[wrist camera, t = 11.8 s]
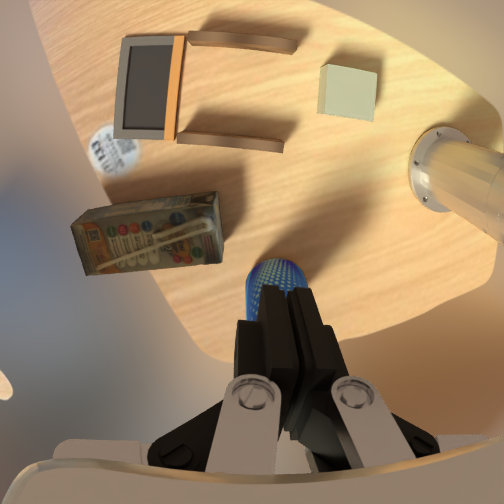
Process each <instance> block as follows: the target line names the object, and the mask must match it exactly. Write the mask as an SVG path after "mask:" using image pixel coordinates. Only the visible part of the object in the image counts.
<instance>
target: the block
mask: <svg viewBox="0 0 504 504" xmlns="http://www.w3.org/2000/svg"><path fill="white" fill-rule="evenodd" d="M376 85H377V73H374V72H369V71H364V70H359V69H354V68H349V67H344V66H338V65H332V64H327V65H325V66H323V67H321V68H320V79H319V93H318V105H317V114H325V115H333V116H340V117H347V118H353V119H359V120H366V121H372V122H373V119H374V109H375V98H376Z"/></svg>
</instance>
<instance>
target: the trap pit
mask: <svg viewBox="0 0 504 504" xmlns="http://www.w3.org/2000/svg"><path fill="white" fill-rule="evenodd" d="M184 42H185V36H143V37H126V38H122V43H121V51H120V59H119V67H118V77H117V87H116V99H115V114H114V133H113V139H151V140H174V139H175V126H176V114H177V103H178V93H179V83H180V74H181V66H182V57H183V50H184Z"/></svg>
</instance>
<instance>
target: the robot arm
mask: <svg viewBox="0 0 504 504" xmlns="http://www.w3.org/2000/svg"><path fill="white" fill-rule="evenodd" d="M414 162H415V163H414ZM408 176H409V182H410V186H411V189H412V191H413V194H414V195H415V197H416V198H417V200H418V201H419V202H420V203H421V204H422V205H424V206H425V207H427V208H428V209H430V210H432V211H435V212H440V213H441V212H449V211H453V212H454V213H456V214H458V215H459V216H461V217H462V218H464V219H465V220H467V221H468V222H470V223H471V224H473V225H474V226H476V227H477V228H479V229H480V230H482V231H483V232H485V233H486V234H488V235H489V236H490V237H492V238H493V239H495V240H496V241H498V242H499V243H500V244H502V245H503V246H504V153H500V152H497V151H494V150H491V149H488V148H484V147H481V146H478V145H474V144H472V143H471V141H470V140H469V139H468V137H467V136H466V135H465V134H464V133H462V132H461V131H459V130H457V129H455V128H451V127H445V126H441V127H435V128H433V129H430V130H429V131H427V132H426V133H424V134H423V135H422V136H421V137H420V138H419V139H418V141H417V142H416V144H415V146H414V148H413V150H412V152H411V155H410V159H409V166H408ZM423 197H424V198H423ZM282 428H284V431H289V432H290V440H298V441H299V442H300V443H301V444H303V445H304V446H305V455H306V458H307V461H308V464H309V467H310V470H311V473H307V474H283V475H274V471H275V461H276V451H277V442H278V440H279V437H280V434H281V431H282ZM2 504H504V436H500V437H495V438H491V439H489V438H488V437H486V436H484V435H480V434H478V435H477V434H475V435H437V436H436V437H435V438H434V437H433V436H432V435H430V434H429V433H427V432H426V431H424V430H422V429H420V428H418V427H416V426H415V425H413V424H411V423H409V422H407V421H405V420H403V419H402V418H400V417H398V416H396V415H395V414H393V413H391V412H390V411H389V409H388V408H387V406H386V404H385V402H384V401H383V399H382V397H381V396H380V394H379V392H378V390H377V389H376V388H375V386H374V385H373V384H372V383H370V382H369V381H367V380H365V379H363V378H361V377H356V376H349V374H348V371H347V368H346V365H345V363H344V359H343V357H342V353H341V351H340V348H339V345H338V342H337V339H336V336H335V334H334V331H333V328H332V327H331V326H330V325H323V323H322V320H321V317H320V314H319V311H318V308H317V305H316V302H315V299H314V296H313V293H312V290H311V288H305V287H294V289H293V291H290V290H289V291H288V292H287V297H286V296H285V291H284V290H279V286H278V285H267V284H262V287H261V293H260V300H259V306H258V313H257V320H256V321H249V320H238V322H237V330H236V339H235V352H234V379H233V380H232V381H231V382H230V383H229V384H228V386H227V388H226V392H225V396H224V399H223V400H222V401H220V402H219V403H217V404H215V405H214V406H213V407H211V408H209V409H207V410H206V411H204V412H203V413H201V414H199V415H198V416H196V417H195V418H193V419H191V420H189V421H188V422H186V423H184V424H183V425H181V426H179V427H178V428H176V429H174V430H172V431H171V432H169V433H167V434H165V435H164V436H162V437H160V438H158V439H157V440H156V441H155V442H153V443H145V444H140V442H139V441H111V440H84V439H70V440H66V441H64V442H62V443H60V444H59V445H58V446H57V447H56V448H55V451H54V454H53V459H51V460H46V461H41V462H37V463H35V464H31V465H29V466H28V467H26V468H25V469H24V470H22V471H21V472H20V473H19V474H18V475H17V477H16V478H15V479H14V481H13V482H12V484H11V486H10V487H9V489H8V491H7V493H6V495H5V497H4V499H3V501H2Z"/></svg>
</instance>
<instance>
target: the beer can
mask: <svg viewBox="0 0 504 504" xmlns="http://www.w3.org/2000/svg"><path fill="white" fill-rule="evenodd" d="M262 284H267V285H278V286H279V290H284V291H285V296H286V297H287V292H288V291H289V290H290V291H293V289H294V287H305V288H308V285H307V282H306V279H305V276H304V273H303V272H302V270H301V269H300V267H298V266H297V265H296V264H295V263H293V262H291V261H289V260H286V259H280V258H274V259H268V260H265V261H263V262H261V263H259V264H257V265H256V266H255V267H254V268H253V269H252V270H251V271H250V273H249V274H248V277H247V279H246V320H249V321H256V320H257V313H258V306H259V300H260V293H261V287H262Z"/></svg>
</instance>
